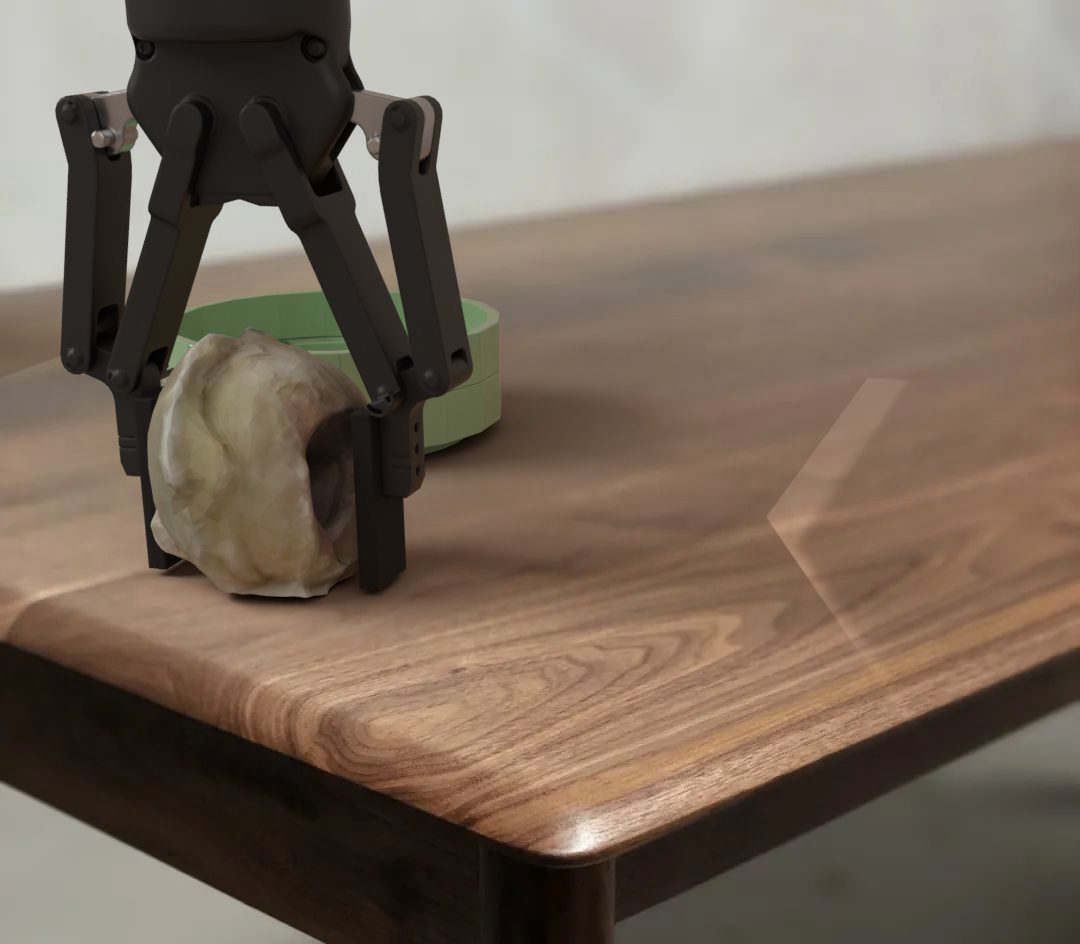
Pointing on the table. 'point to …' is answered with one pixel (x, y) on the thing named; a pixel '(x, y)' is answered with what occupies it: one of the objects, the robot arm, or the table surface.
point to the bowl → (317, 332)
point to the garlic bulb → (256, 466)
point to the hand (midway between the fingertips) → (277, 567)
